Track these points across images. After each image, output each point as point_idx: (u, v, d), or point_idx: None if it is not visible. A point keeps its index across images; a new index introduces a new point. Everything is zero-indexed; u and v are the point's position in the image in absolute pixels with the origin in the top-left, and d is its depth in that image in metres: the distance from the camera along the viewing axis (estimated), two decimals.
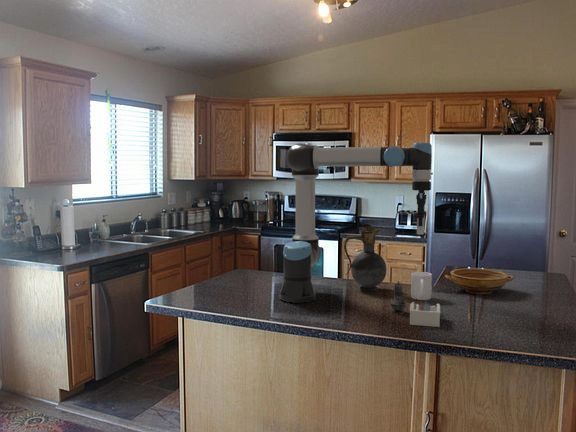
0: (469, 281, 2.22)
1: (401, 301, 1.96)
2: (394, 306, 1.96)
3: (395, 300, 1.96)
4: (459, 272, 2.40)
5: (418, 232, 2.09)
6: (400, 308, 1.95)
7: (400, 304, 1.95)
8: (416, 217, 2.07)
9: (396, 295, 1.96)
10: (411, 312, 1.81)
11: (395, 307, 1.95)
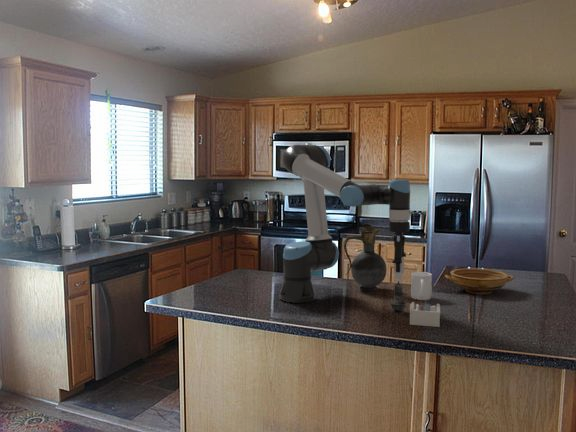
0: (469, 281, 2.22)
1: (401, 301, 1.96)
2: (394, 306, 1.96)
3: (395, 300, 1.96)
4: (459, 272, 2.40)
5: (396, 278, 1.89)
6: (400, 308, 1.95)
7: (400, 304, 1.95)
8: (393, 262, 1.88)
9: (396, 295, 1.96)
10: (411, 312, 1.81)
11: (395, 307, 1.95)
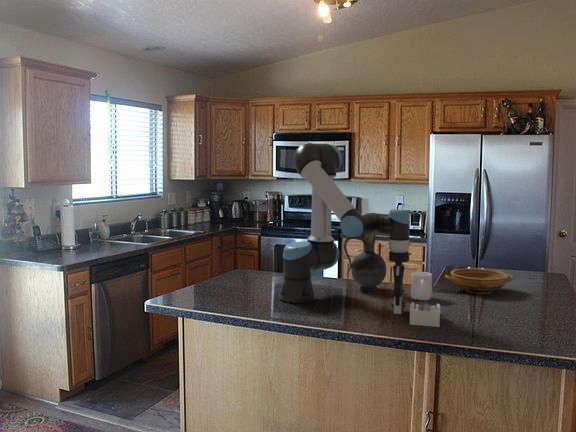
0: (469, 281, 2.22)
1: (401, 301, 1.96)
2: None
3: None
4: (459, 272, 2.40)
5: (395, 311, 1.94)
6: None
7: None
8: (393, 296, 1.93)
9: None
10: (411, 312, 1.81)
11: None
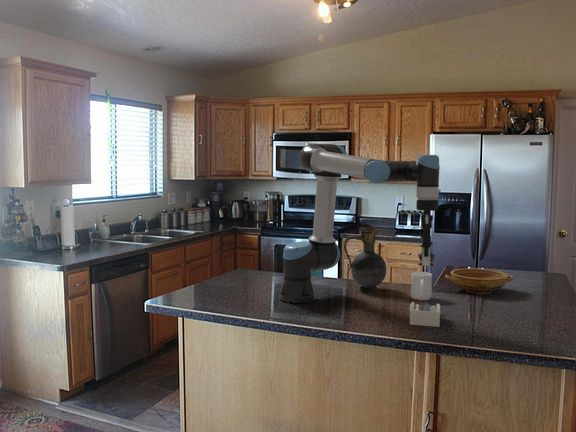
0: (469, 281, 2.22)
1: (430, 253, 1.84)
2: None
3: None
4: (459, 272, 2.40)
5: (423, 263, 1.82)
6: None
7: None
8: None
9: None
10: (411, 312, 1.81)
11: None
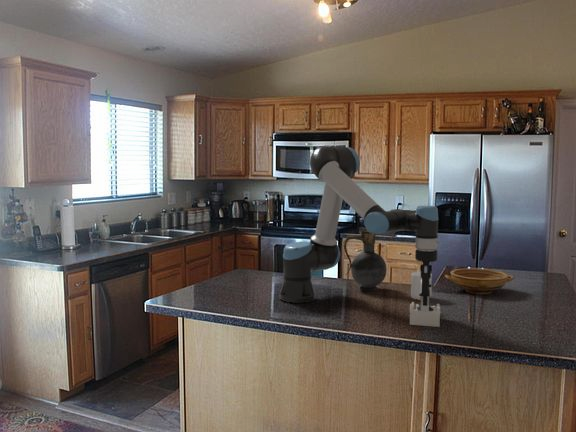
0: (469, 281, 2.22)
1: None
2: None
3: None
4: (459, 272, 2.40)
5: None
6: None
7: None
8: (420, 295, 1.80)
9: None
10: (411, 312, 1.81)
11: None
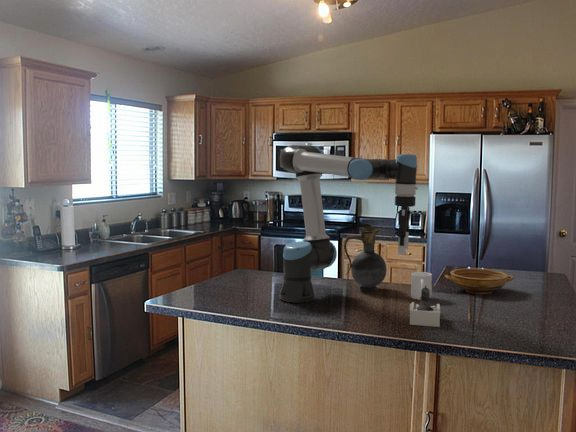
0: (469, 281, 2.22)
1: (428, 307, 1.85)
2: None
3: (422, 306, 1.86)
4: (459, 272, 2.40)
5: (399, 252, 1.92)
6: None
7: (427, 310, 1.84)
8: (397, 236, 1.90)
9: (423, 300, 1.85)
10: (411, 312, 1.81)
11: None
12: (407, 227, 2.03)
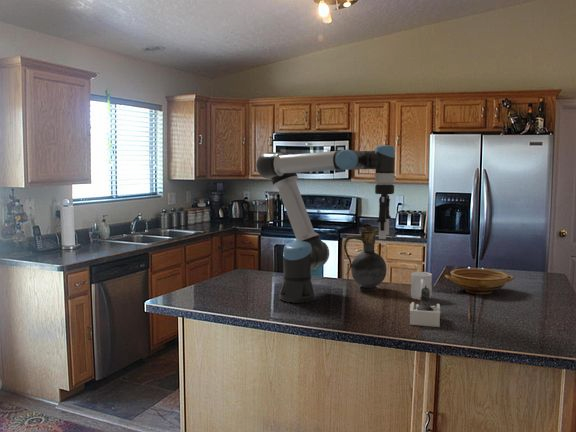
0: (469, 281, 2.22)
1: (428, 307, 1.85)
2: None
3: (422, 305, 1.86)
4: (459, 272, 2.40)
5: (380, 237, 2.05)
6: None
7: (427, 310, 1.84)
8: (378, 221, 2.03)
9: (423, 300, 1.85)
10: (411, 312, 1.81)
11: None
12: (387, 214, 2.16)
